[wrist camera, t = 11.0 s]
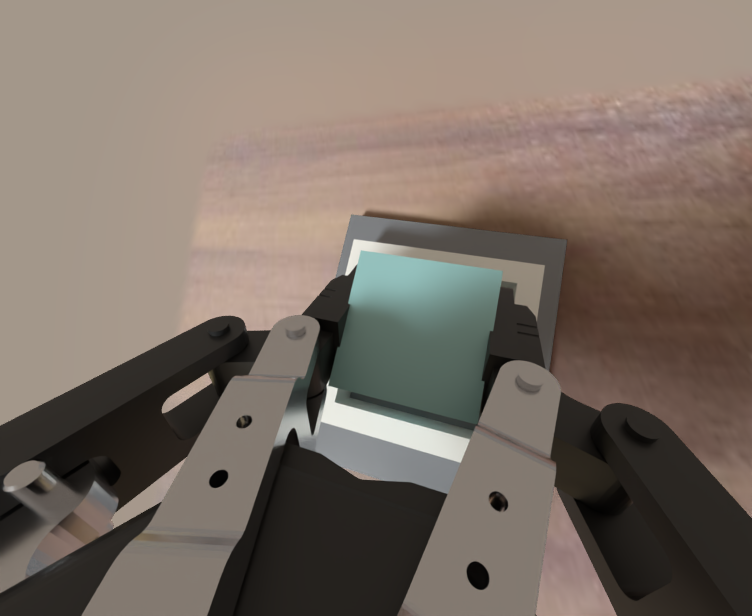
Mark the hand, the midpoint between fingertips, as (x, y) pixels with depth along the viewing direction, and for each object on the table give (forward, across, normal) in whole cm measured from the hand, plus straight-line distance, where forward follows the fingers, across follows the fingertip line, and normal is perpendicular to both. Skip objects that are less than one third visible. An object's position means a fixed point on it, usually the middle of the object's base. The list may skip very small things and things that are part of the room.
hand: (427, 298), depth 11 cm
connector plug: (+2, 0, +4) cm, 5 cm away
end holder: (+4, 0, +6) cm, 7 cm away
